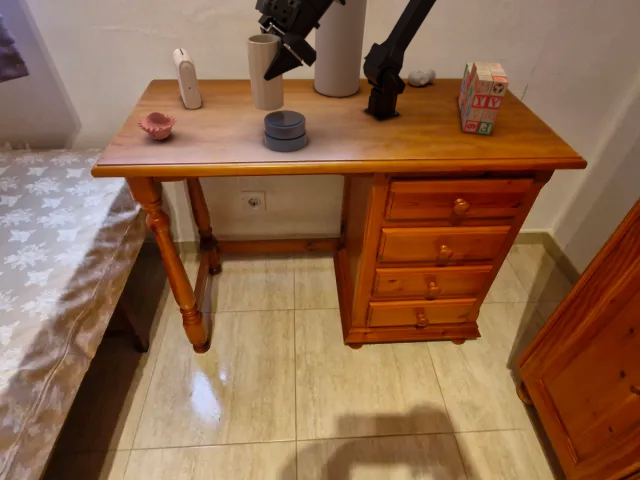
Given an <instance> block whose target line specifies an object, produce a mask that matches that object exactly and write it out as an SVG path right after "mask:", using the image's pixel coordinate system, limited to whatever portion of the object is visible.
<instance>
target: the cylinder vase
mask: <svg viewBox="0 0 640 480" xmlns="http://www.w3.org/2000/svg"><path fill="white" fill-rule="evenodd" d="M367 4H368V0H346V4H345V5H344V6H343V5H341V4H338V3H336V2H335V1H334V2H333V3H332V4H331V6H330V7H329V8H328V10H327V11H326V12H325V14H324V15H323V16H322V18H321V19H320V20H319V22H318V23H319V24H320V25H321V26H320V27H319V28H318V30H317V29H315V28H314V50H315V51H316V52H317V59H316V61H315V62H314V75H313V77H314V83H313V86H314V89H315V91H316V92H318V93H319V94H321V95H323V96H326V97H335V98H342V97H349V96H351V95H354V94H356V93H357V92H358V90H359V88H360V80H361V79H360V77H361V67H362V58H363V57H362V56H363V47H364V38H365V37H364V36H365V35H364V34H365V24H366V16H367V15H366V13H367V6H368V5H367Z"/></svg>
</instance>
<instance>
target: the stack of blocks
mask: <svg viewBox="0 0 640 480" xmlns="http://www.w3.org/2000/svg"><path fill="white" fill-rule="evenodd" d="M509 85H510V81H509V80H508V76H507V74H506V72H505V70H504V68H503V66H502V65H501V63H498V62H487V61H486V62H485V61H473V62H466V64H465V66H464V72H463V76H462V81H461V84H460V89H459V92H458V95H457V99H458V108H459V113H460V117H461V127H462V132H463V133H470V134H479V135H487V136H490V134H491V132H492V130H493V127H494V126H495V121H496V118H497V117H498V113H499V110H500V108H501V106H502V103H503V101H504V97H505V94H506V92H507V90H508V87H509Z"/></svg>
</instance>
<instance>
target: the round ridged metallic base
mask: <svg viewBox="0 0 640 480" xmlns="http://www.w3.org/2000/svg"><path fill="white" fill-rule="evenodd" d="M306 121H307V120H306V117H305V115H304V114H302V113H301V112H298V111H295V110H287V109H284V110H283V109H282V110H274V111H271V112H270V113H268V114H266V115H265V116H264V118H263V127H264V129H263V136H264V138H263V139H264V144H265V146H266V147H267V148H268V149H270V150H273V151H277V152H281V153H282V152H283V153H284V152H295V151H298V150H300V149H303V148H304V147H305V146H306V145H307V132H308V131H307V128H306V127H307V125H306V124H307V122H306Z"/></svg>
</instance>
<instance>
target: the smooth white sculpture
mask: <svg viewBox="0 0 640 480" xmlns="http://www.w3.org/2000/svg"><path fill="white" fill-rule="evenodd" d="M436 79H437V74H436V71H435V69H433V68H428V70H426V71H422V70H417V71H416V70H413V71H411V72H409V74H407V81H408V83H409V84H410V85H411V86H413V87H419V86H424V85H426V84H432V83H434V81H435V80H436Z"/></svg>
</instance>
